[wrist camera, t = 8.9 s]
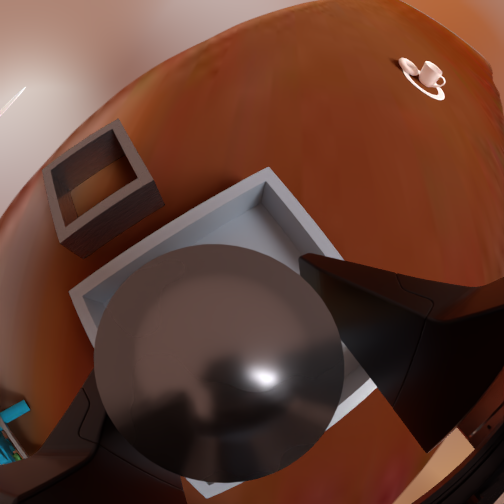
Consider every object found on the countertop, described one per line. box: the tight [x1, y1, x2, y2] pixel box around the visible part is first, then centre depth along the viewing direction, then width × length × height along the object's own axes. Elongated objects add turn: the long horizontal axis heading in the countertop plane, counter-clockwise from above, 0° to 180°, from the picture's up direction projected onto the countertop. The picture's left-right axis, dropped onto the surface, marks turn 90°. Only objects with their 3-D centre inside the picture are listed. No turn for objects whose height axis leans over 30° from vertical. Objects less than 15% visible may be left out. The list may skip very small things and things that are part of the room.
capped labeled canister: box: [94, 244, 344, 483], centre depth 10 cm, size 4×4×13 cm
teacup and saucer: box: [399, 58, 445, 100], centre depth 28 cm, size 9×8×4 cm
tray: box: [68, 167, 377, 499], centre depth 15 cm, size 15×15×4 cm
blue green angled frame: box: [0, 400, 30, 465], centre depth 11 cm, size 11×6×10 cm
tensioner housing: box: [42, 118, 165, 259], centre depth 18 cm, size 8×8×4 cm
